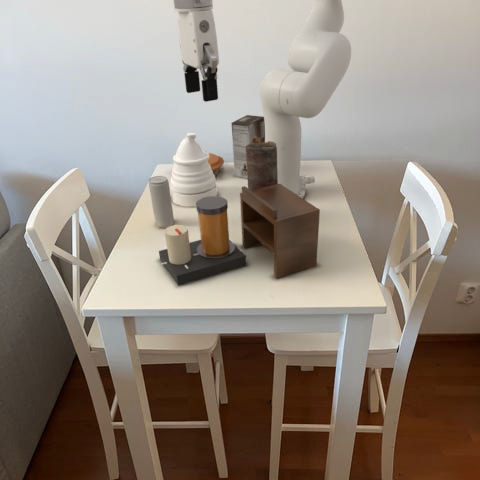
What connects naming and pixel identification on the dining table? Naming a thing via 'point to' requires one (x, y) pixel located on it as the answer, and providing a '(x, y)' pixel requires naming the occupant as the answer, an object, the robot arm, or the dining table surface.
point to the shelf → (281, 227)
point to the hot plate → (201, 265)
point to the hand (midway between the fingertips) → (201, 96)
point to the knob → (178, 244)
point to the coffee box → (246, 140)
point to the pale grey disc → (229, 252)
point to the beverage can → (161, 201)
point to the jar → (213, 224)
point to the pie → (215, 163)
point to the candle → (261, 165)
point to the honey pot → (191, 174)
